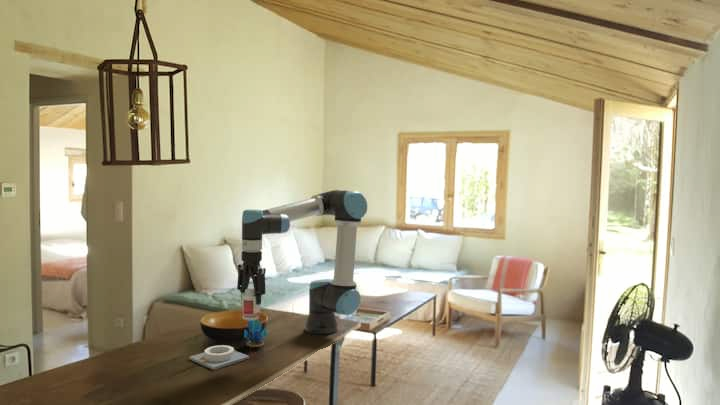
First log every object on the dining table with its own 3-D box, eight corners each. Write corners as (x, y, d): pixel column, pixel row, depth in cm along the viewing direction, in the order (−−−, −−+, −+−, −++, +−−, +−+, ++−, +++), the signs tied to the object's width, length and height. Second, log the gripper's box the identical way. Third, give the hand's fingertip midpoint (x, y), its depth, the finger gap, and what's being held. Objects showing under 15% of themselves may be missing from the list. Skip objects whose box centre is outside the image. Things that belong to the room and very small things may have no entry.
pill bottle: (261, 319, 195) (262, 290, 194) (246, 321, 191) (246, 292, 191) (254, 315, 200) (255, 287, 199) (239, 317, 196) (240, 289, 196)
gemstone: (262, 348, 211) (262, 319, 210) (242, 346, 212) (242, 318, 211) (268, 342, 218) (269, 314, 217) (249, 341, 219) (249, 313, 219)
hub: (224, 348, 209) (224, 340, 209) (249, 358, 199) (249, 349, 198) (189, 359, 197) (189, 350, 196) (213, 370, 186) (213, 360, 186)
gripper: (227, 248, 197) (226, 308, 198) (260, 254, 185) (259, 317, 187) (243, 247, 203) (242, 304, 204) (276, 252, 191) (275, 313, 192)
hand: (250, 310), depth 195 cm, fingers closed on pill bottle, 6 cm apart
